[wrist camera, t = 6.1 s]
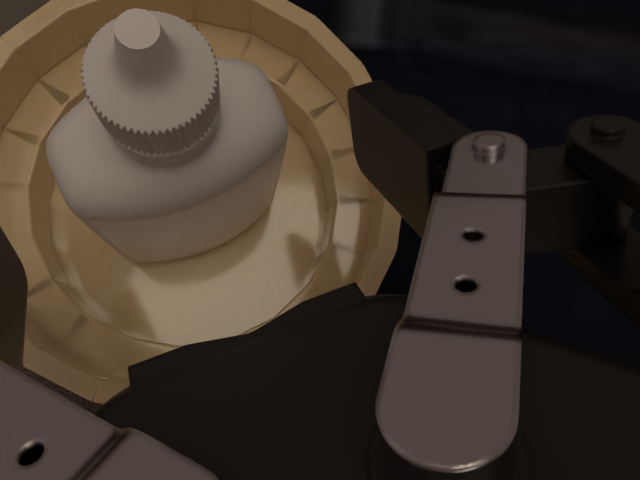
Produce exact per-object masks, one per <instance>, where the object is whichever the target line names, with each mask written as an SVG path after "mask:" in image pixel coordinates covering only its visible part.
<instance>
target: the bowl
mask: <svg viewBox="0 0 640 480" xmlns="http://www.w3.org/2000/svg"><path fill="white" fill-rule="evenodd" d="M134 8H139V9H144V10H147V11H151V10H152V11H154V12H155V11H160V12H166V13H167V14H173V16H177V17H179V18H180V19H183V20H185V21H186V22H187V23H191V26H193V27H196V28H197V31H199V32H202V36H204V37H206V41H207V42H209V43H210V47H211V48H213V53H214V54H215V56H216V57H219V58H230V59H237V60H242V61H247V62H250V63H252V64H254V65H257V66H258V67H259V68H260V69H261V70H262V71H263V72H264V73H265V74H266V75H267V77H268V79H269V81H270V83H271V85H272V87H273V89H274V91H275V93H276V95H277V97H278V99H279V102H280V104H281V106H282V108H283V111H284V114H285V116H286V119H287V129H288V139H287V144H286V150H285V154H284V158H283V163H282V167H281V171H280V175H279V179H278V183H277V187H276V191H275V195H274V198H273V201H272V203H271V205H270V207H269V208H268V209H267V211H266V212H265V213H264V214H263V215H262V216H261V217H260V218H259V219H258V220H257V221H256V222H255V223H253V224H252V225H251V226H250V227H249V228H247V229H246V230H245V231H244V232H242V233H241V234H239V235H238V236H236V237H235V238H233V239H231V240H230V241H228V242H226V243H224V244H222V245H221V246H219V247H216V248H214V249H212V250H209V251H207V252H204V253H201V254H198V255H195V256H191V257H187V258H183V259H178V260H171V261H162V262H135V261H132V260H129V259H127V258H125V257H124V256H123V255H121V254H120V253H119V252H118V251H116V250H115V249H114V248H113V247H111V246H110V245H109V244H108V243H107V242H105V241H104V240H103V239H102V238H101V237H99V236H98V235H97V234H96V233H95V232H93V231H92V230H91V229H90V228H89V227H87V226H86V225H85V224H84V223H83V222H82V221H81V220H80V219H79V218H78V217H77V216H76V215H75V214H74V213H73V212H72V210H71V209H70V208H69V207H68V205H67V204H66V202H65V200H64V198H63V196H62V194H61V192H60V190H59V187H58V185H57V183H56V180H55V178H54V175H53V173H52V170H51V168H50V165H49V162H48V159H47V156H46V140H47V138H48V136H49V134H50V132H51V130H52V129H53V128H54V127H55V126H56V124H57V123H58V122H59V121H60V120H61V119H62V118H63V117H64V116H65V115H66V114H67V113H68V112H69V111H70V110H71V109H72V108H73V107H74V106H76V105H77V104H78V103H79V102H80V101H81V100H83V99H84V98H85V97H86V93H85V92H84V90H83V88H84V86H83V85H82V83H81V82H82V78H81V74H82V72H81V70H80V69H81V68H82V64H81V62H82V61H83V59H84V58H83V57H82V56H83V55H84V54H85V53H86V52H85V49H86V48H87V47H88V43H89V42H91V41H92V40H91V38H92V37H94V36H95V33H96V32H98V31H100V28H102V27H104V26H105V24H106V23H109V22H110V21H111V20H113V19H116V18H117V17H119V15H120V14H122V13H123V12H125V11H127V10H129V9H134ZM368 82H372V79H371V78H370V76H369V74H368V72H367V70H366V68H365V66H364V65H363V64H362V62H361V61H360V60H359V59H358V58H357V57H356V56H355V55H354V54H353V53H352V52H351V51H350V50H349V49H348V48H347V47H346V46H345V45H344V44H343V43H342V42H341V41H340V40H339V39H338V38H337V37H336V36H335V35H334V34H333V33H332V32H331V31H330V30H329V29H328V28H327V27H326V26H325V25H324V24H323V23H322V22H321V21H320V20H319V19H317V17H316V16H314V15H313V14H311V13H309V12H307V11H305V10H304V9H302V8H300V7H298V6H296V5H295V4H293V3H291V2H289V1H287V0H50V1H49V2H47V3H46V4H45V5H43V6H42V7H40V8H39V9H38V10H36V11H35V12H34V13H32V14H31V15H29V16H28V17H27V18H25V19H24V20H22V21H21V22H20V23H18V24H17V25H15V26H14V27H13V28H11V29H10V30H9V31H7V32H6V33H4V34H3V35H2V36H1V37H0V227H1V228H2V230H3V232H4V233H5V235H6V237H7V238H8V240H9V242H10V243H11V245H12V247H13V248H14V250H15V252H16V253H17V255H18V257H19V258H20V260H21V262H22V265H23V267H24V270H25V273H26V276H27V281H28V294H27V309H26V324H25V339H24V354H23V366H24V368H26V369H28V370H30V371H32V372H34V373H36V374H38V375H40V376H42V377H44V378H46V379H48V380H50V381H52V382H54V383H55V384H57V385H59V386H61V387H63V388H65V389H67V390H69V391H71V392H73V393H75V394H77V395H79V396H81V397H83V398H85V399H87V400H88V401H94V402H95V403H98V404H104V403H105V402H107V401H108V400H109V399H110V398H112V397H113V396H114V395H116V394H117V393H119V392H120V391H121V390H123V389H125V388H126V387H128V386H129V385H130V382H129V375H128V366H131V365H133V364H136V363H139V362H141V361H144V360H147V359H150V358H152V357H155V356H158V355H160V354H163V353H166V352H168V351H171V350H174V349H176V348H179V347H182V346H184V345H187V344H193V343H199V342H204V341H210V340H215V339H221V338H227V337H232V336H238V335H243V334H248V333H250V332H253V331H255V330H256V329H258V328H260V327H261V326H263V325H265V324H266V323H268V322H270V321H271V320H273V319H275V318H276V317H278V316H280V315H281V314H283V313H285V312H286V311H288V310H289V309H291V308H293V307H294V306H296V305H298V304H299V303H301V302H303V301H305V300H308V299H311V298H313V297H316V296H319V295H322V294H324V293H327V292H330V291H332V290H335V289H338V288H340V287H343V286H346V285H348V284H351V283H354V282H356V283H357V285H358V286H359V288H360V289H361V291H362V292H363V294H364V295H365V296H370V295H376V293H377V291H378V289H379V287H380V285H381V283H382V281H383V279H384V277H385V275H386V273H387V271H388V269H389V266H390V264H391V262H392V260H393V258H394V256H395V252H396V251H397V246H398V238H399V231H400V224H401V215H400V214H399V213H398V212H397V211H396V210H395V209H394V208H393V206H392V205H391V204H390V203H389V202H388V201H387V200H386V199H385V198H384V197H383V196H382V194H381V193H380V192H379V191H378V190H377V189H376V188H375V187H374V186H373V185H372V184H371V182H370V181H369V180H368V179H367V178H366V177H365V176H364V175H363V173H362V172H361V170H360V168H359V166H358V164H357V161H356V158H355V154H354V148H353V140H352V132H351V125H350V117H349V109H348V101H347V93H348V90H349V88H352V87H355V86H358V85H362V84H365V83H368Z"/></svg>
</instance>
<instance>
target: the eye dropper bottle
mask: <svg viewBox="0 0 640 480" xmlns="http://www.w3.org/2000/svg"><path fill="white" fill-rule="evenodd" d="M91 40H92V41H91V42H89V43H88V47H87V48H86V49H85V52H86V53H85V54H84V55H83V56H82V57H83V58H84V59H83V61H82V62H81V64H82V68H81V69H80V70H81V72H82V74H81V78H82V82H81V83H82V85H83V86H84V88H83V90H84V92H85V93H86V97H85V98H84V99H83V100H81V101H80V102H79V103H78V104H77V105H76V106H74V107H73V108H72V109H71V110H70V111H69V112H68V113H67V114H66V115H65V116H64V117H63V118H62V119H61V120H60V121H59V122H58V123H57V124H56V126H55V127H54V128H53V129H52V130H51V132H50V134H49V136H48V138H47V140H46V156H47V159H48V162H49V165H50V168H51V170H52V173H53V175H54V178H55V180H56V183H57V185H58V187H59V190H60V192H61V194H62V196H63V198H64V200H65V202H66V204H67V205H68V207H69V208H70V209H71V210H72V212H73V213H74V214H75V215H76V216H77V217H78V218H79V219H80V220H81V221H82V222H83V223H84V224H85V225H86V226H87V227H89V228H90V229H91V230H92V231H93V232H95V233H96V234H97V235H98V236H99V237H101V238H102V239H103V240H104V241H105V242H107V243H108V244H109V245H110V246H111V247H113V248H114V249H115V250H116V251H118V252H119V253H120V254H121V255H123V256H124V257H125V258H127V259H129V260H132V261H135V262H162V261H171V260H178V259H183V258H187V257H191V256H195V255H198V254H201V253H204V252H207V251H209V250H212V249H214V248H216V247H219V246H221V245H222V244H224V243H226V242H228V241H230V240H231V239H233V238H235V237H236V236H238V235H239V234H241V233H242V232H244V231H245V230H246V229H247V228H249V227H250V226H251V225H252V224H253V223H255V222H256V221H257V220H258V219H259V218H260V217H261V216H262V215H263V214H264V213H265V212H266V211H267V209H268V208H269V207H270V205H271V203H272V201H273V198H274V195H275V191H276V187H277V183H278V179H279V175H280V171H281V167H282V163H283V158H284V154H285V150H286V144H287V139H288V129H287V119H286V116H285V114H284V111H283V108H282V106H281V104H280V102H279V99H278V97H277V95H276V93H275V91H274V89H273V87H272V85H271V83H270V81H269V79H268V77H267V75H266V74H265V73H264V72H263V71H262V70H261V69H260V68H259V67H258V66H257V65H254V64H252V63H250V62H247V61H242V60H237V59H230V58H219V57H216V56H215V54H214V53H213V48H211V47H210V43H209V42H207V41H206V37H204V36H202V32H199V31H197V28H196V27H193V26H191V23H187V22H186V21H185V20H183V19H180V18H179V17H177V16H173V14H167V13H166V12H160V11H155V12H154V11H152V10H151V11H147V10H144V9H139V8H134V9H129V10H127V11H125V12H123V13H122V14H120V15H119V17H117V18H116V19H113V20H111V21H110V22H109V23H106V24H105V26H104V27H102V28H100V31H98V32H96V33H95V36H94V37H92V38H91Z"/></svg>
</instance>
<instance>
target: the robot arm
mask: <svg viewBox="0 0 640 480" xmlns="http://www.w3.org/2000/svg"><path fill="white" fill-rule="evenodd" d="M347 101H348V109H349V117H350V125H351V132H352V140H353V148H354V154H355V158H356V161H357V164H358V166H359V168H360V170H361V172H362V173H363V175H364V176H365V177H366V178H367V179H368V180H369V181H370V182H371V184H372V185H373V186H374V187H375V188H376V189H377V190H378V191H379V192H380V193H381V194H382V196H383V197H384V198H385V199H386V200H387V201H388V202H389V203H390V204H391V205H392V206H393V208H394V209H395V210H396V211H397V212H398V213H399V214H400V215H401V216H402V217H403V218H404V219H405V221H406V222H407V223H408V224H409V225H410V226H411V227H412V228H413V229H414V230H415V231H416V233H417V234H418V235H419V236H420V237H421V238H422V242H421V246H420V250H419V254H418V258H417V262H416V266H415V270H414V274H413V278H412V282H411V287H410V291H409V295H401V294H380V295H370V296H365V295H364V294H363V292H362V291H361V289H360V288H359V286H358V285H357V283H356V282H354V283H351V284H348V285H346V286H343V287H340V288H338V289H335V290H332V291H330V292H327V293H324V294H322V295H319V296H316V297H313V298H311V299H308V300H305V301H303V302H301V303H299V304H298V305H296V306H294V307H293V308H291V309H289V310H288V311H286V312H285V313H283V314H281V315H280V316H278V317H276V318H275V319H273V320H271V321H270V322H268V323H266V324H265V325H263V326H261V327H260V328H258V329H256V330H255V331H253V332H250V333H248V334H243V335H238V336H232V337H227V338H221V339H215V340H210V341H204V342H199V343H193V344H187V345H184V346H182V347H179V348H176V349H174V350H171V351H168V352H166V353H163V354H160V355H158V356H155V357H152V358H150V359H147V360H144V361H141V362H139V363H136V364H133V365H131V366H128V375H129V382H130V385H129V386H128V387H126V388H125V389H123V390H121V391H120V392H119V393H117V394H116V395H114V396H113V397H112V398H110V399H109V400H108V401H107V402H105V403H104V404H103V405H102V406H101V407H100V408H99V409H97V410H96V411H95V412H94V413H91V412H89V411H87V410H86V409H84V408H82V407H80V406H79V405H77V404H75V403H74V402H72V401H70V400H68V399H67V398H65V397H63V396H61V395H60V394H58V393H56V392H55V391H53V390H51V389H49V388H48V387H46V386H44V385H42V384H41V383H39V382H37V381H36V380H34V379H32V378H30V377H29V376H27V375H25V374H24V373H22V370H23V354H24V339H25V324H26V309H27V294H28V281H27V276H26V273H25V270H24V267H23V265H22V262H21V260H20V258H19V257H18V255H17V253H16V252H15V250H14V248H13V247H12V245H11V243H10V242H9V240H8V238H7V237H6V235H5V233H4V232H3V230H2V228H1V227H0V480H640V366H639V365H636V364H633V363H630V362H626V361H623V360H620V359H617V358H614V357H610V356H607V355H604V354H601V353H598V352H594V351H591V350H588V349H585V348H582V347H579V346H575V345H572V344H569V343H566V342H563V341H559V340H556V339H553V338H550V337H547V336H544V335H540V334H537V333H534V332H531V331H528V330H525V329H521V324H522V298H523V273H524V255H528V254H536V253H544V252H553V251H557V253H558V254H559V255H560V256H561V257H562V258H563V259H564V260H565V261H566V262H567V263H568V264H570V265H571V266H572V267H573V268H574V269H575V270H576V271H577V272H578V273H579V274H580V275H581V276H583V277H584V278H585V279H586V280H587V281H588V282H589V283H590V284H591V285H592V286H593V287H594V288H595V289H597V290H598V291H599V292H600V293H601V294H602V295H603V296H604V297H605V298H606V299H607V300H608V301H610V302H611V303H612V304H613V305H614V306H615V307H616V308H617V309H618V310H619V311H620V312H621V313H622V314H624V315H625V316H626V317H627V318H628V319H629V320H630V321H631V322H632V323H633V324H634V325H635V326H637V327H638V328H639V329H640V232H638V231H637V230H636V229H634V228H633V227H632V226H630V221H631V216H632V211H633V209H634V210H635V211H636V212H638V213H639V214H640V122H638V121H636V120H633V119H630V118H627V117H623V116H616V115H594V116H588V117H584V118H581V119H578V120H576V121H574V122H573V123H572V124H571V125H570V126H569V127H568V131H567V139H566V145H559V146H552V147H545V148H537V149H527V144H526V143H525V141H524V140H523V139H522V138H520V137H519V136H517V135H514V134H511V133H508V132H504V131H492V130H491V131H479V132H473V131H472V130H470V129H469V128H467V127H466V126H464V125H463V124H462V123H460V122H459V121H457V120H456V119H454V118H453V117H452V116H448V114H447V113H446V112H444V111H443V110H442V109H440V108H439V109H438V107H437V106H436V105H434V104H433V103H432V102H430V101H429V100H427V99H426V98H423V97H420V96H416V95H412V94H409V93H404V94H400V93H399V92H397V91H396V90H395V89H393V88H392V87H390V86H389V85H388V84H386V83H385V82H384V81H382V80H380V79H378V80H375V81H372V82H368V83H365V84H362V85H358V86H355V87H352V88H349V90H348V93H347Z"/></svg>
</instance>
